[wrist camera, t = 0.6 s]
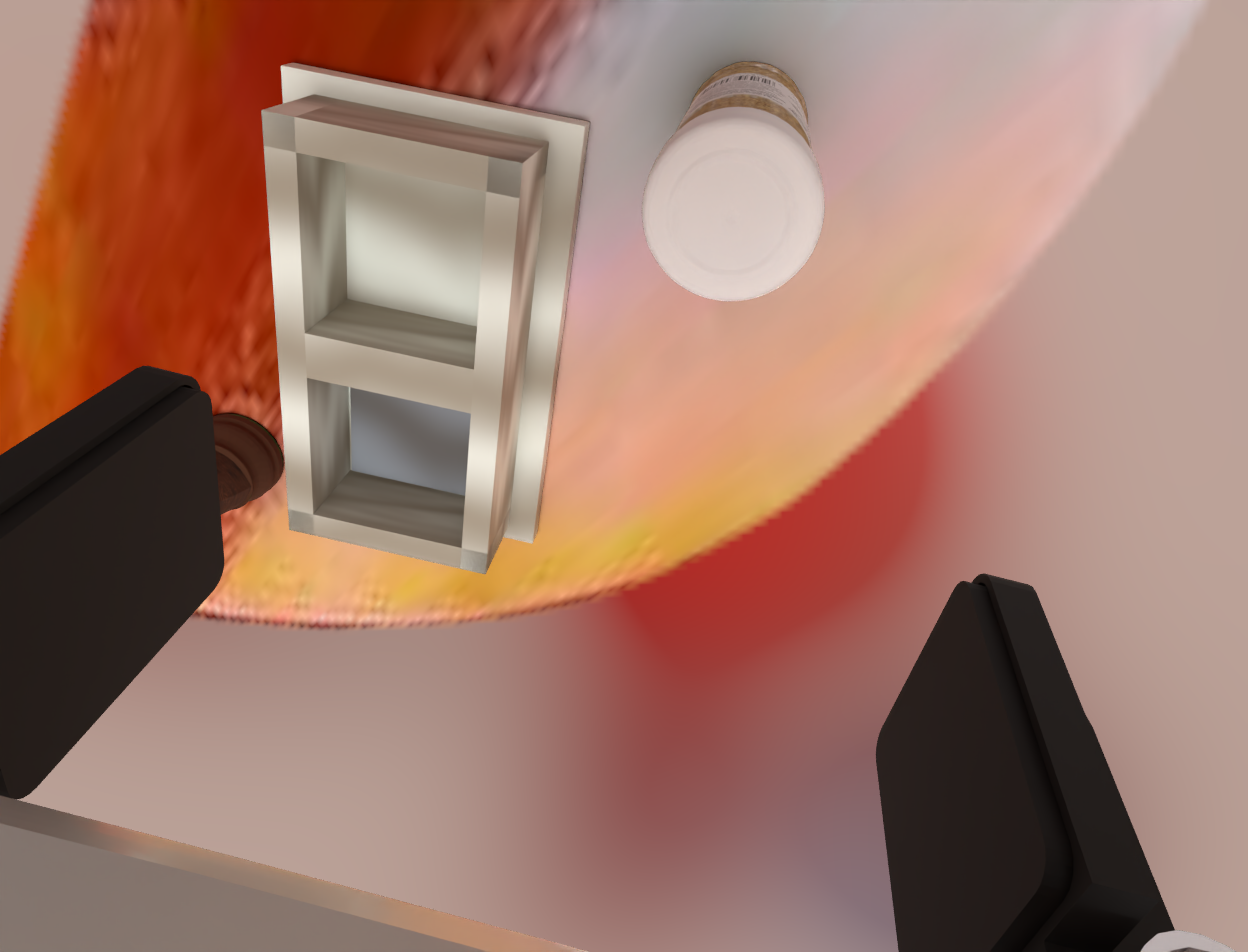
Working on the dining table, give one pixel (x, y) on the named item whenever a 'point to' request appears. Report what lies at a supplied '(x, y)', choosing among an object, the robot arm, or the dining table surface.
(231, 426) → the chess piece
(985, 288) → the dining table surface
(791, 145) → the sprinkles bottle
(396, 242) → the slot rack
